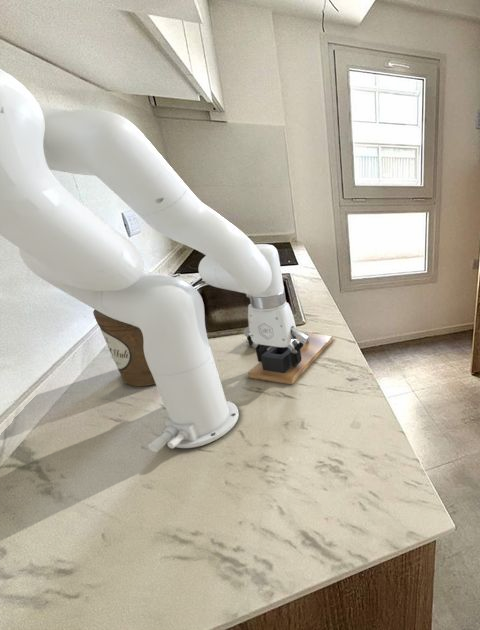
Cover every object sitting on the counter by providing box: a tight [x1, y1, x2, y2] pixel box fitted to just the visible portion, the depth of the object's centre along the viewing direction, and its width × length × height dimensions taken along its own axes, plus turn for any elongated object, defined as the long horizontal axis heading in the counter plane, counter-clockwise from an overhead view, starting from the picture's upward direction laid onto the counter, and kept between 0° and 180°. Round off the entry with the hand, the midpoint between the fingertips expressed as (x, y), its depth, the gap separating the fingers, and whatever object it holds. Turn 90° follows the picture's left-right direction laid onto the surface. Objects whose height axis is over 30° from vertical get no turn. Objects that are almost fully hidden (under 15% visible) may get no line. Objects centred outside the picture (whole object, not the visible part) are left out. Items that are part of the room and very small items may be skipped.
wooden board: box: [247, 331, 334, 385], centre depth 89 cm, size 22×12×4 cm, turn 168°
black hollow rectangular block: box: [260, 345, 296, 373], centre depth 84 cm, size 7×6×4 cm
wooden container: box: [92, 309, 156, 387], centre depth 80 cm, size 15×15×22 cm
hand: (280, 361), depth 84 cm, fingers open, 9 cm apart
